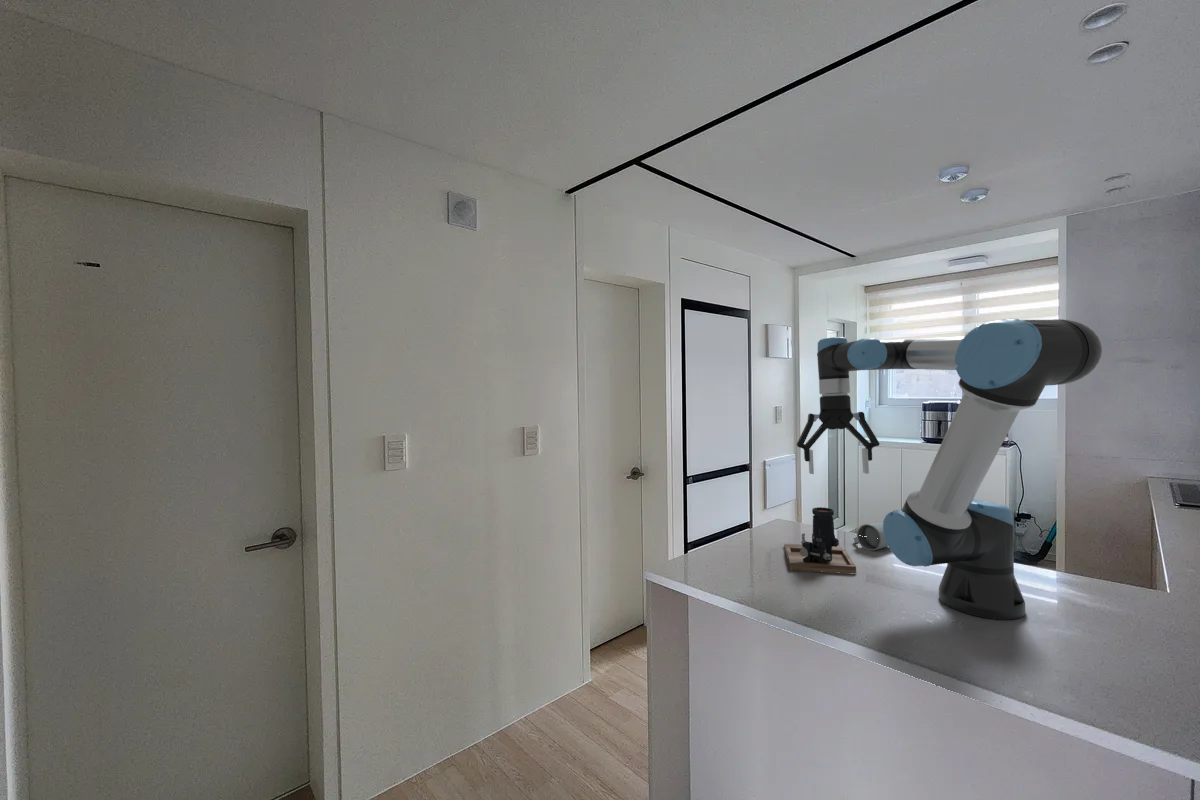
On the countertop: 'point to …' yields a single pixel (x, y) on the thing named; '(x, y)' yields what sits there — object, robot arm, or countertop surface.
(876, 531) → the ceramic mug
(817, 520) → the scope
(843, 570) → the wooden tray
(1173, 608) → the countertop surface
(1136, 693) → the countertop surface
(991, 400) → the robot arm
